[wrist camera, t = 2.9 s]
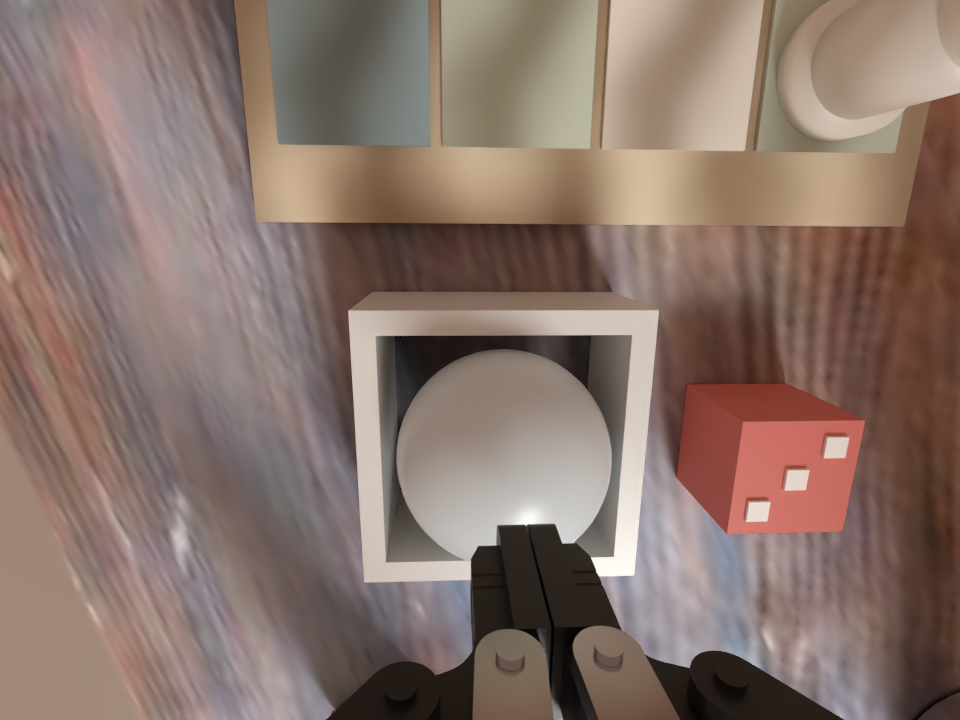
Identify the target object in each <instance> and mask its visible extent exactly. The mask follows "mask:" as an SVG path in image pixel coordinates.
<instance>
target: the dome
mask: <svg viewBox="0 0 960 720" xmlns="http://www.w3.org/2000/svg"><path fill="white" fill-rule="evenodd" d="M396 463H397V472H398V478H399V483H400V486H401V490H402V494H403V496H404V499H405V501H406V504H407V506H408V508H409V509H410V511H411V513H412V515H413V516H414V518H415V520H416V521H417V523H418V524H419V525H420V527H421V528H422V529H423V530H424V532H425V533H426V534H428V535H429V536H430V537H431V538H432V539H433V540H434V541H435V542H436V543H437V544H438V545H440V546H441V547H442V548H444V549H445V550H446V551H448V552H450V553H452V554H453V555H455V556H457V557H459V558H461V559H464V560H466V561H469V562H471V558H472V556H473V554H474V553H475V551H476V549H477V547H478V546H495V545H496V535H497V525H524V524H525V525H527V524H555V525H556V527H557V530H558V533H559V536H560V539H561V541H562V544H564V543H574V542H575V541H576V540H577V539H578V538H579V537H580V536H581V535H582V534H583V533H584V532H585V531H586V530H587V528H588V527H589V526H590V525H591V523H592V522H593V520H594V519H595V517H596V516H597V514H598V512H599V510H600V508H601V506H602V503H603V501H604V499H605V496H606V493H607V490H608V486H609V482H610V476H611V467H612V450H611V443H610V437H609V433H608V429H607V426H606V422H605V419H604V417H603V415H602V413H601V411H600V408H599V407H598V405H597V403H596V402H595V400H594V399H593V397H592V395H591V394H590V392H589V391H588V390H587V389H586V388H585V386H584V385H583V384H582V383H581V382H580V381H579V380H578V379H577V378H576V377H574V376H573V375H572V374H571V373H570V372H569V371H568V370H566V369H565V368H563V367H562V366H560V365H559V364H557V363H555V362H553V361H551V360H549V359H547V358H545V357H542V356H539V355H536V354H533V353H530V352H525V351H520V350H512V349H494V350H486V351H481V352H476V353H473V354H470V355H467V356H464V357H462V358H460V359H458V360H456V361H454V362H452V363H450V364H448V365H447V366H445V367H444V368H442V369H441V370H440V371H438V372H437V373H436V374H435V375H434V376H432V377H431V378H430V379H429V380H428V381H427V382H426V383H425V384H424V385H423V387H422V388H421V389H420V390H419V391H418V393H417V394H416V396H415V397H414V399H413V400H412V402H411V404H410V406H409V408H408V410H407V412H406V414H405V416H404V419H403V422H402V425H401V428H400V432H399V437H398V443H397V460H396Z"/></svg>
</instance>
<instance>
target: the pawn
mask: <svg viewBox="0 0 960 720" xmlns="http://www.w3.org/2000/svg"><path fill="white" fill-rule="evenodd" d="M776 89H777V95H778V100H779V103H780V107H781V109H782V111H783V113H784V115H785V117H786V118H787V120H788V121H789V122H790V124H791V125H792V126H793V127H794V128H795V129H796V130H798V131H799V132H800V133H802V134H803V135H805V136H807V137H809V138H812V139H815V140H819V141H839V140H844V139H848V138H852V137H857V136H861V135H865V134H869V133H872V132H875V131H877V130H879V129H881V128H883V127H885V126H886V125H888V124H889V123H891V122H892V121H893V120H895V119H896V118H897V117H898V116H899V115H900V114H901V113H902V112H903V111H904V110H905V109H906V108H907V107H909V106H913V105H917V104H920V103H924V102H928V101H931V100H935V99H939V98H943V97H946V96H950V95H954V94H957V93H960V0H829V1H828V2H826V3H825V4H823V5H821V6H820V7H818V8H817V9H815V10H814V11H812V12H811V13H809V14H808V15H807V16H806V17H805V18H804V19H803V20H802V21H801V22H800V23H799V24H798V25H797V26H796V27H795V29H794V30H793V32H792V33H791V34H790V36H789V38H788V40H787V41H786V43H785V45H784V48H783V50H782V53H781V56H780V59H779V63H778V68H777V76H776Z"/></svg>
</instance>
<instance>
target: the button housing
mask: <svg viewBox="0 0 960 720" xmlns="http://www.w3.org/2000/svg"><path fill="white" fill-rule="evenodd" d="M348 316H349V333H350V350H351V367H352V384H353V401H354V418H355V435H356V453H357V470H358V487H359V504H360V521H361V538H362V555H363V573H364V583H370V582H407V581H445V580H471V562H469V561H466V560H464V559H461V558H459V557H457V556H455V555H453V554H452V553H450V552H448V551H446V550H445V549H444V548H442V547H441V546H440V545H438V544H437V543H436V542H435V541H434V540H433V539H432V538H431V537H430V536H429V535H428V534H426V533H425V532H424V530H423V529H422V528H421V527H420V525H419V524H418V523H417V521H416V520H415V518H414V516H413V515H412V513H411V511H410V509H409V508H408V506H407V504H406V501H405V499H404V496H403V494H402V493H400V483H399V478H398V472H397V463H396V460H397V443H398V420H397V392H396V365H395V337H394V336H495V335H591V342H590V358H589V374H588V391H589V392H590V394H591V395H592V397H593V399H594V400H595V402H596V403H597V405H598V407H599V408H600V411H601V413H602V415H603V417H604V419H605V422H606V426H607V429H608V433H609V437H610V443H611V450H612V467H611V476H610V482H609V486H608V490H607V493H606V496H605V499H604V501H603V503H602V506H601V508H600V510H599V512H598V514H597V516H596V517H595V519H594V520H593V522H592V523H591V525H590V526H589V527H588V528H587V530H586V531H585V532H584V533H583V534H582V535H581V536H580V537H579V538H578V539H577V540H576V541H575V542H574V543H577V544H578V545H579V546H580V547H581V548H582V549H583V550H585V551H586V552H587V553H588V554H589V555H590V557H591V559H592V561H593V564H594V566H595V569H596V573H598V576H634V569H635V558H636V548H637V537H638V527H639V516H640V505H641V495H642V484H643V474H644V463H645V453H646V442H647V432H648V421H649V411H650V400H651V390H652V379H653V369H654V358H655V348H656V337H657V327H658V316H659V310H657V309H655V308H652V307H650V306H647V305H644V304H642V303H639V302H637V301H634V300H632V299H629V298H627V297H624V296H622V295H619V294H617V293H614V292H372V293H370V294H369V295H368V296H367V297H365V298H364V299H363V300H361V301H360V302H359V303H357V304H356V305H355V306H354V307H352V308H351V309H350V310H348Z"/></svg>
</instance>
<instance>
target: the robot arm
mask: <svg viewBox="0 0 960 720" xmlns="http://www.w3.org/2000/svg"><path fill="white" fill-rule="evenodd" d="M471 627H472V646H473V651H472V653H471V654H470V656H469V657H468V658H467V659H466V660H465V661H464V662H463V663H462V664H461V665H459V666H458V667H456V668H454V669H452V670H450V671H447V672H445V673H442V674H439V675H436V676H435V674H434V673H433V672H432V671H431V670H430V669H428V668H427V667H425V666H424V665H422V664H419V663H415V662H397V663H394V664H390V665H388V666H386V667H384V668H382V669H381V670H379V671H378V672H377V673H375V674H374V675H373V676H372V677H371V678H370V679H369V680H368V681H367V682H366V683H365V684H364V685H362V686H361V687H360V688H359V689H358V690H357V691H356V692H355V693H354V694H353V695H352V696H351V697H350V698H349V699H348V700H347V701H346V702H344V703H343V704H342V705H341V706H340V707H339V708H338V709H337V710H336V711H335V712H334V713H333V714H332V715H331V716H330V717H329V718H328V719H326V720H844V719H842V718H840V717H839V716H837V715H835V714H834V713H832V712H830V711H829V710H827V709H825V708H824V707H822V706H820V705H819V704H817V703H815V702H814V701H812V700H810V699H809V698H807V697H805V696H804V695H802V694H800V693H799V692H797V691H795V690H794V689H792V688H790V687H789V686H787V685H785V684H784V683H782V682H780V681H779V680H777V679H775V678H774V677H772V676H771V675H769V674H767V673H766V672H764V671H762V670H761V669H759V668H757V667H756V666H754V665H752V664H751V663H749V662H747V661H746V660H744V659H742V658H740V657H738V656H735V655H733V654H730V653H727V652H722V651H706V652H702V653H700V654H698V655H697V656H696V657H694V659H693V660H692V662H691V665H690V668H686V667H682V666H677V665H673V664H669V663H665V662H661V661H658V660H655V659H653V658H650V657H648V656H646V655H645V654H644V652H643V650H642V648H641V647H640V645H639V644H638V643H637V642H636V641H635V640H634V639H633V638H632V637H631V636H630V635H628V634H627V633H625V632H623V631H622V630H621V628H620V625H619V623H618V621H617V618H616V616H615V614H614V611H613V609H612V606H611V604H610V602H609V599H608V597H607V595H606V592H605V590H604V588H603V586H602V584H601V580H600V578H599V576H598V573H596V569H595V566H594V564H593V561H592V559H591V557H590V555H589V554H588V553H587V552H586V551H585V550H583V549H582V548H581V547H580V546H579V545H578V544H577V543H564V544H562V541H561V539H560V536H559V533H558V530H557V527H556V525H555V524H527V525H525V524H524V525H497V535H496V545H495V546H478V547H477V549H476V551H475V553H474V554H473V556H472V558H471ZM918 720H960V692H959V693H956V694H954V695H951V696H949V697H948V698H946V699H944V700H942V701H940V702H938V703H937V704H935V705H934V706H933V707H931V708H930V709H929V710H928V711H926V712H925V713H924V714H923V715H922V716H921V717H920V718H919V719H918Z"/></svg>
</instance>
